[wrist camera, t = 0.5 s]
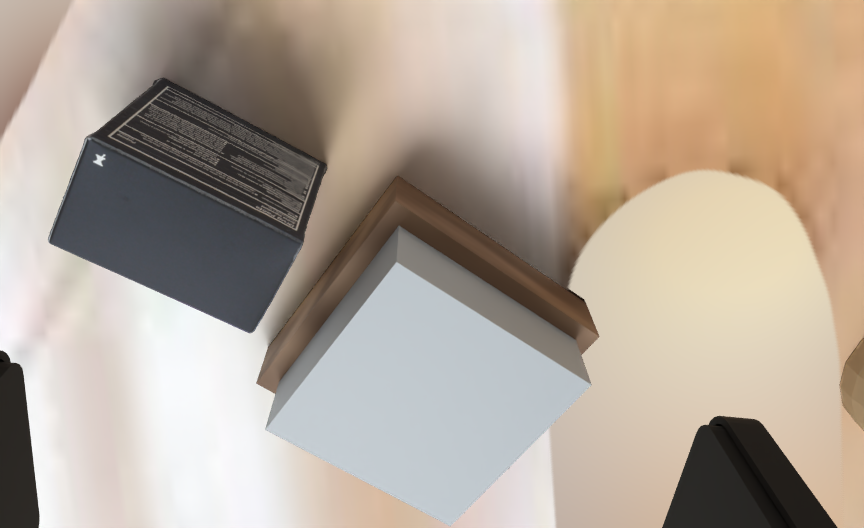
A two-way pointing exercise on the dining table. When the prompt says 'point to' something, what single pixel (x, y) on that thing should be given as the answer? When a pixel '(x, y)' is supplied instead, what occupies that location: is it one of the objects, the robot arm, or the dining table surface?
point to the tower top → (427, 381)
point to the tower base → (448, 238)
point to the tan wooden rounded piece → (854, 385)
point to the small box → (190, 204)
